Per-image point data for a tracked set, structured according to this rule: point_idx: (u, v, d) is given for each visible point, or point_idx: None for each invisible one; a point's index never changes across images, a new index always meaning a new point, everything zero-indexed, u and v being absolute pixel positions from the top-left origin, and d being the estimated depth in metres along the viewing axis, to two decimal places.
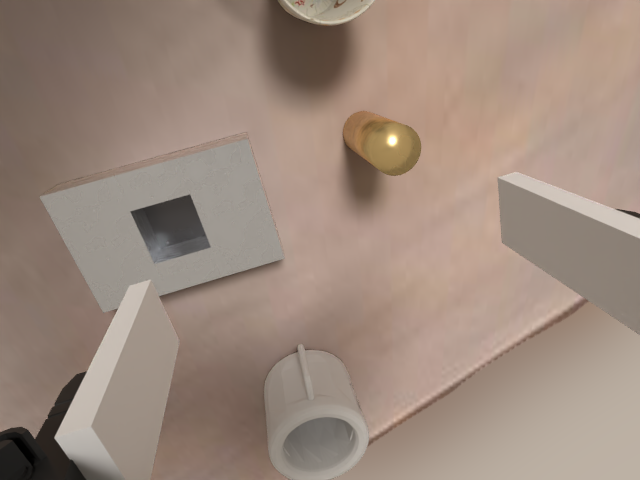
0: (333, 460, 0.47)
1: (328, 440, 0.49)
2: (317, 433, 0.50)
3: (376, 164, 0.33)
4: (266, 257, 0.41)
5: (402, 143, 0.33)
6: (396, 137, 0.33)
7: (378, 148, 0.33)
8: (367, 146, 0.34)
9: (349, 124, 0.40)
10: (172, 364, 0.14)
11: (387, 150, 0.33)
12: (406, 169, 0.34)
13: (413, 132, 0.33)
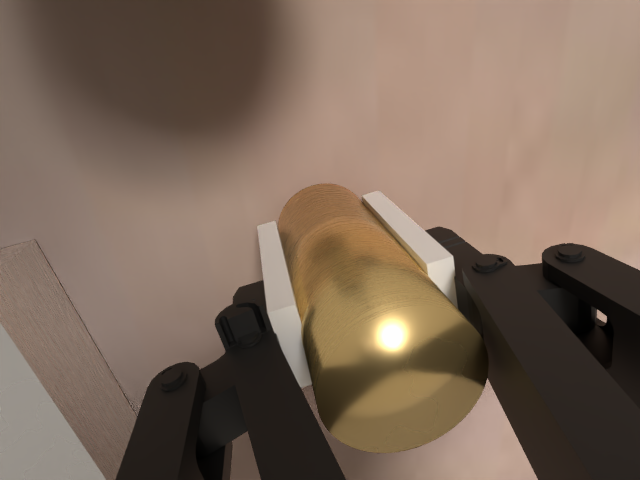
0: None
1: None
2: None
3: (333, 430, 0.10)
4: None
5: (427, 364, 0.09)
6: (405, 348, 0.09)
7: (339, 386, 0.09)
8: (307, 354, 0.10)
9: (287, 222, 0.16)
10: None
11: (373, 387, 0.09)
12: (437, 431, 0.10)
13: (465, 329, 0.09)
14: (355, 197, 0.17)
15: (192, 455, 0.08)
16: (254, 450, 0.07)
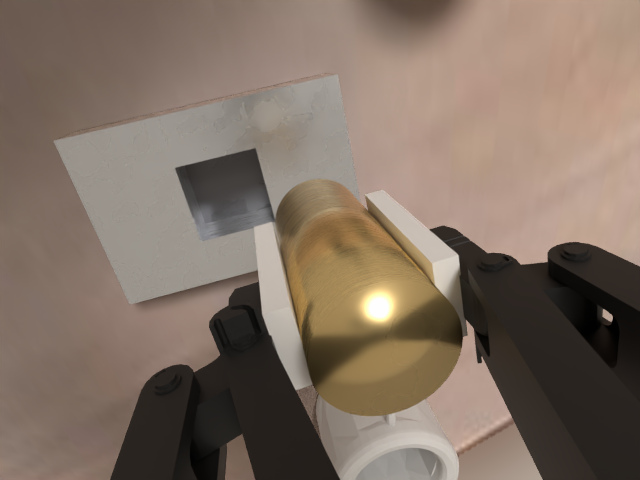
0: None
1: (398, 472, 0.39)
2: (382, 463, 0.41)
3: (323, 393, 0.11)
4: None
5: (406, 333, 0.10)
6: (386, 319, 0.10)
7: (328, 352, 0.10)
8: (301, 327, 0.11)
9: (283, 214, 0.17)
10: None
11: (359, 354, 0.10)
12: (417, 397, 0.11)
13: (440, 302, 0.10)
14: (348, 191, 0.18)
15: (186, 458, 0.08)
16: (249, 453, 0.07)
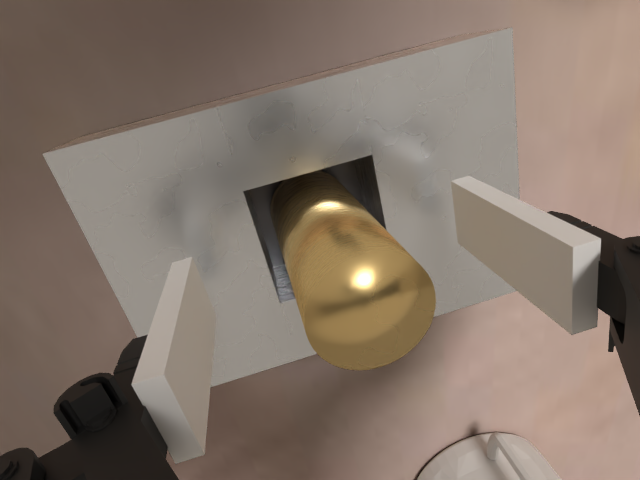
0: None
1: None
2: None
3: (318, 350, 0.12)
4: (490, 287, 0.21)
5: (388, 297, 0.12)
6: (371, 284, 0.12)
7: (321, 313, 0.12)
8: (297, 295, 0.13)
9: (278, 202, 0.19)
10: (213, 335, 0.15)
11: (348, 315, 0.12)
12: (398, 353, 0.13)
13: (416, 269, 0.12)
14: (336, 180, 0.20)
15: None
16: None
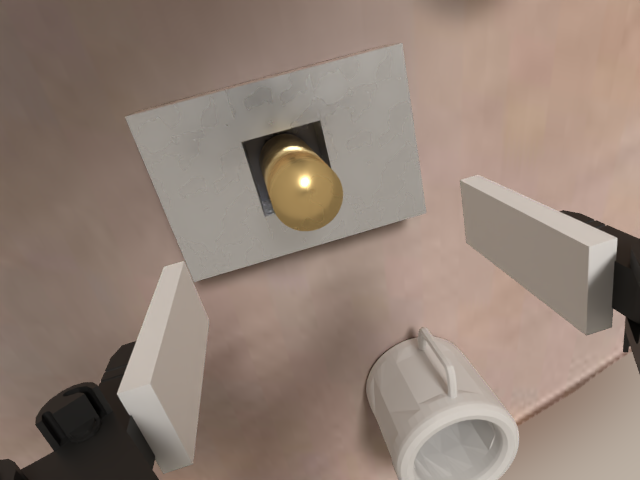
0: (467, 473, 0.37)
1: (453, 448, 0.39)
2: (435, 439, 0.41)
3: (279, 216, 0.23)
4: (403, 211, 0.32)
5: (316, 187, 0.23)
6: (306, 179, 0.23)
7: (280, 195, 0.23)
8: (269, 190, 0.24)
9: (263, 152, 0.30)
10: (205, 341, 0.15)
11: (294, 196, 0.23)
12: (324, 222, 0.24)
13: (330, 171, 0.23)
14: (301, 140, 0.31)
15: None
16: None
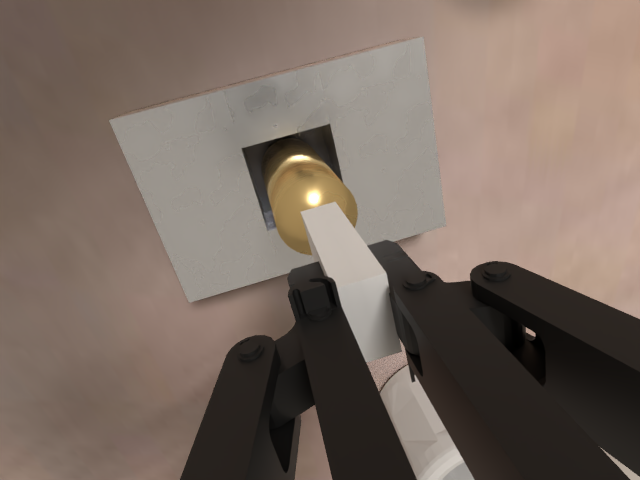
0: None
1: (470, 477, 0.36)
2: None
3: (284, 240, 0.20)
4: (421, 224, 0.29)
5: None
6: (315, 197, 0.20)
7: (285, 215, 0.20)
8: (273, 209, 0.21)
9: (266, 160, 0.27)
10: None
11: None
12: None
13: (343, 188, 0.20)
14: (308, 145, 0.28)
15: (266, 427, 0.08)
16: (319, 418, 0.08)
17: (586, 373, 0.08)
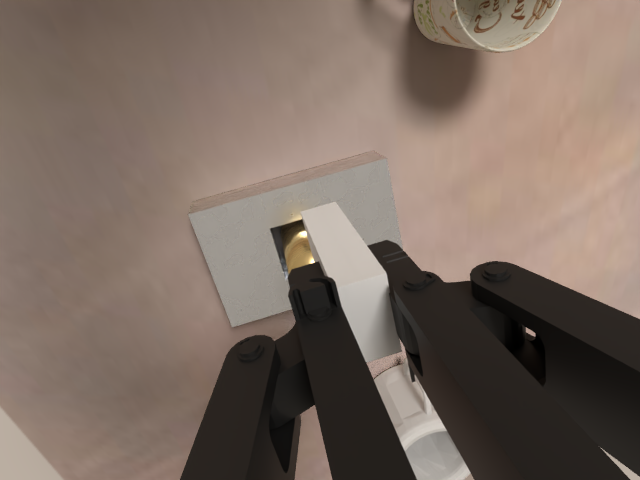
0: (441, 473, 0.47)
1: (431, 453, 0.49)
2: (418, 446, 0.51)
3: None
4: None
5: None
6: None
7: None
8: (288, 269, 0.34)
9: (283, 231, 0.40)
10: None
11: None
12: None
13: None
14: None
15: (266, 427, 0.08)
16: (319, 418, 0.08)
17: (586, 373, 0.08)
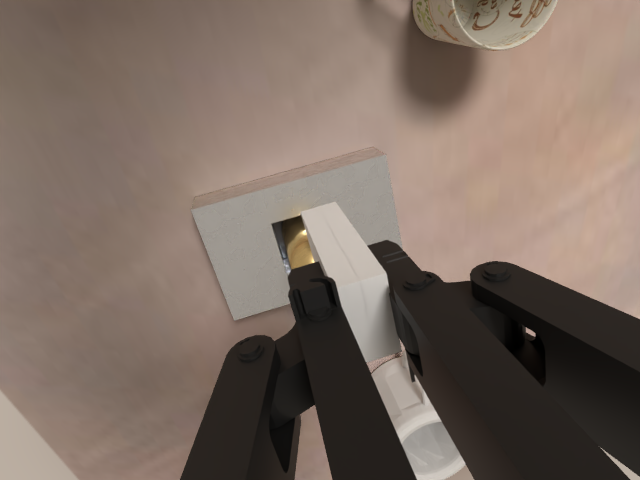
0: (439, 463, 0.48)
1: (429, 444, 0.50)
2: (416, 437, 0.52)
3: None
4: None
5: None
6: None
7: None
8: None
9: (284, 228, 0.41)
10: None
11: None
12: None
13: None
14: None
15: (266, 427, 0.08)
16: (319, 418, 0.08)
17: (586, 373, 0.08)
